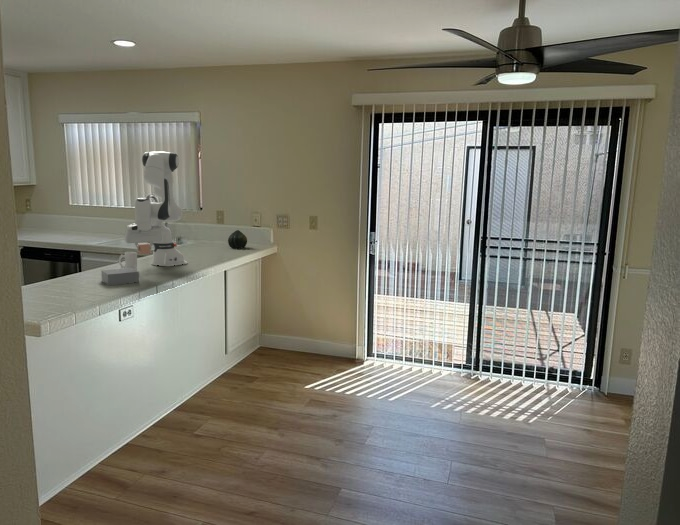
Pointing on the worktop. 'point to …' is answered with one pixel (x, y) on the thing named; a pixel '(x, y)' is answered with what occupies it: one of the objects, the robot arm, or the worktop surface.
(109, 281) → the stand
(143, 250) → the cube
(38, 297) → the worktop surface
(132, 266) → the mug
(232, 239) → the squash
